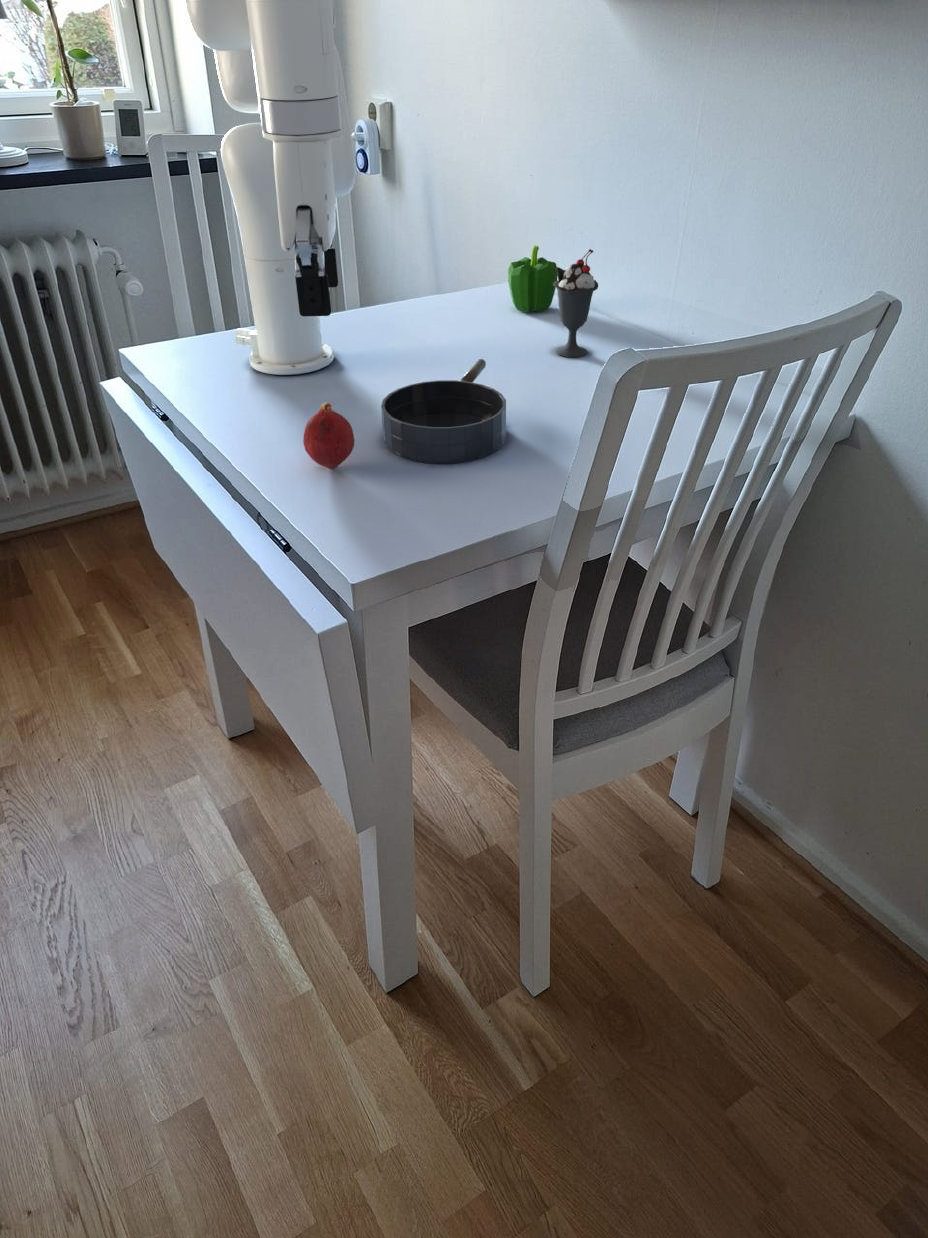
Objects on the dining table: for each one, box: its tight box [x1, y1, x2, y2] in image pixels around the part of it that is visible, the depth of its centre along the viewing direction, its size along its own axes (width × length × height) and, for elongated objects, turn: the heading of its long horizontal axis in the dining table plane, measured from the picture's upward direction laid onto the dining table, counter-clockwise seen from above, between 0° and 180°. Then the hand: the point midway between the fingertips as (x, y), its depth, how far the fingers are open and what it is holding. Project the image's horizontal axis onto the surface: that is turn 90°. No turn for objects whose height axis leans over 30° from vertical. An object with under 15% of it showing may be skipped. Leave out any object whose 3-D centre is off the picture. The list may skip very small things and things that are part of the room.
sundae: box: [553, 248, 599, 358], centre depth 129 cm, size 7×7×15 cm
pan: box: [380, 379, 507, 465], centre depth 107 cm, size 15×15×4 cm
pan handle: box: [459, 358, 487, 383], centre depth 115 cm, size 9×1×1 cm, turn 163°
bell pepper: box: [507, 245, 558, 313], centre depth 148 cm, size 8×8×10 cm
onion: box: [302, 401, 355, 470], centre depth 99 cm, size 6×6×8 cm
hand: (320, 300), depth 93 cm, fingers open, 9 cm apart
